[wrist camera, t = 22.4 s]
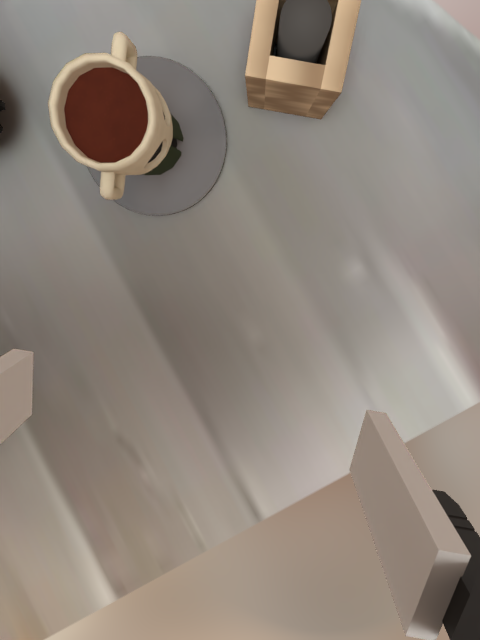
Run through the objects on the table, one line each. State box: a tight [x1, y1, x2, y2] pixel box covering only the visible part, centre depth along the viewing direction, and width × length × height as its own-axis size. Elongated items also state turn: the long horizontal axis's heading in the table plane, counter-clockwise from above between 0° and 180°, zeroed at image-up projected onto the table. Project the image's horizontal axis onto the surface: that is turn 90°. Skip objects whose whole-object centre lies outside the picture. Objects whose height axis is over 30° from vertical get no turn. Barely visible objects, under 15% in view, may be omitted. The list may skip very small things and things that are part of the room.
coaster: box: [87, 56, 227, 215], centre depth 39 cm, size 14×14×1 cm
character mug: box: [48, 32, 183, 200], centre depth 33 cm, size 11×7×13 cm, turn 169°
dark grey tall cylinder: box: [276, 0, 332, 64], centre depth 32 cm, size 3×3×10 cm
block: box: [245, 0, 361, 119], centre depth 33 cm, size 7×7×10 cm
